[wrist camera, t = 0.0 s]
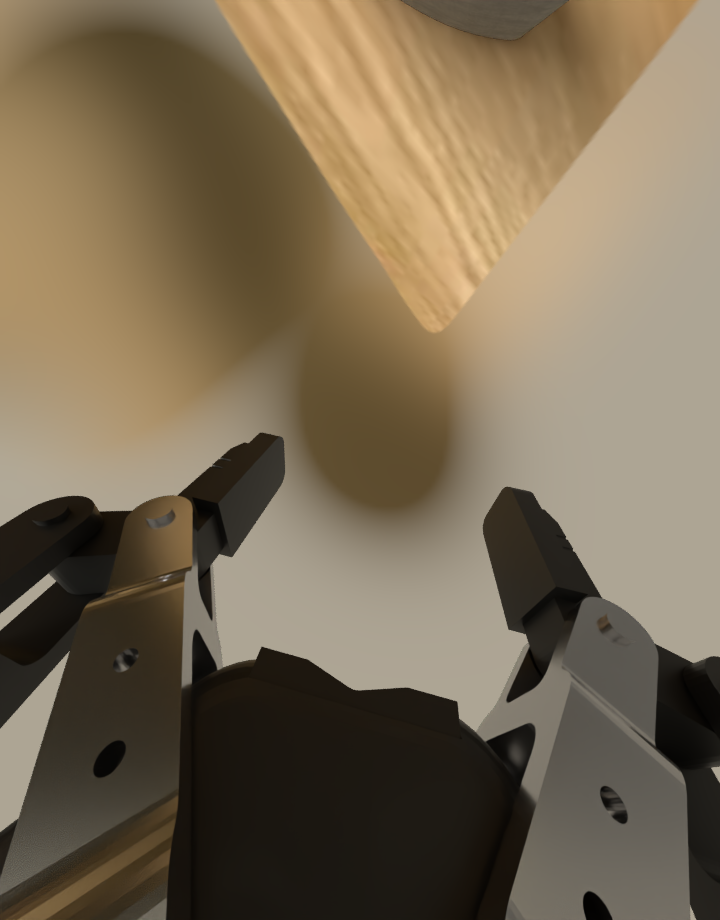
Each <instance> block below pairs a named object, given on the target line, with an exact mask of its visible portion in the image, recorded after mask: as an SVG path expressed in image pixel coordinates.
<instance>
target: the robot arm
mask: <svg viewBox="0 0 720 920" xmlns="http://www.w3.org/2000/svg"><path fill="white" fill-rule="evenodd" d="M284 475H285V458H284V441H283V438H282V437H280V436H275V435H271V434H266V433H259V434H258V435H257V436H256V437H255V438H254V439H253V440H252V441H251V442H250V443H243V444H240V445H238V446H236V447H233V448H231V449H230V450H229V451H228V452H227V453H226V454H224V455H223V456H222V457H221V459H218V460H217V461H216V462H215V463H214V464H213V465H212V467H209V468H208V469H207V470H206V471H205V472H204V473H202V474H201V475H200V476H199V477H198V478H197V479H196V480H195V481H194V482H192V483H191V484H190V485H189V486H188V487H187V488H186V489H184V490H183V491H182V492H181V493H180V494H179V495H178V496H174V495H172V496H171V495H170V496H162V497H158V498H154V499H151V500H149V501H146V502H144V503H143V504H141V505H139V506H138V507H136V508H135V509H134V510H133V511H106V512H99V510H98V509H97V507H96V506H95V504H94V503H93V501H92V500H90V499H89V498H87V497H83V496H67V497H61V498H56V499H53V500H49V501H46V502H43V503H41V504H38V505H36V506H34V507H32V508H30V509H28V510H27V511H25V512H23V513H22V514H20V515H18V516H17V517H15V518H14V519H12V520H10V521H9V522H7V523H6V524H4V525H2V526H1V527H0V613H1V612H3V611H4V610H5V609H6V608H7V607H9V606H10V605H11V604H12V603H13V602H15V601H16V600H17V599H18V598H19V597H21V596H22V595H23V594H24V593H25V592H27V591H28V590H29V589H30V588H31V587H33V586H34V585H35V584H36V583H37V582H39V581H40V580H41V579H42V578H43V577H45V576H46V575H47V574H48V573H49V574H50V575H51V576H52V577H53V578H54V579H55V580H56V582H55V583H54V584H53V585H52V586H51V587H50V588H48V589H47V590H46V591H45V592H44V593H43V594H42V595H41V596H39V597H38V598H37V599H36V600H35V601H34V602H32V603H31V604H30V605H29V606H28V607H27V608H26V609H24V610H23V611H22V612H21V613H20V614H19V615H18V616H17V617H15V618H14V619H13V620H12V621H11V622H10V623H9V624H7V625H6V626H5V627H4V628H3V629H2V630H1V631H0V728H1V727H2V726H3V725H4V724H5V723H6V722H7V720H8V719H9V718H10V717H11V716H12V715H13V713H15V711H16V710H17V709H18V708H19V707H20V706H21V705H22V704H23V702H24V701H25V700H26V699H27V698H28V697H29V696H30V695H31V693H32V692H33V691H34V690H35V689H36V688H37V687H38V686H39V684H40V683H41V682H42V681H43V680H44V679H45V678H46V677H47V675H48V674H49V673H50V672H51V671H52V670H53V668H55V666H56V665H57V664H58V663H59V662H60V661H61V660H62V659H63V657H64V656H65V655H66V654H67V653H68V652H69V651H70V652H69V655H68V659H67V662H66V665H65V668H64V672H63V675H62V678H61V682H60V685H59V688H58V691H57V695H56V698H55V701H54V705H53V708H52V711H51V714H50V717H49V721H48V724H47V727H46V730H45V734H44V737H43V741H42V744H41V747H40V750H39V753H38V756H37V760H36V763H35V766H34V770H33V773H32V776H31V779H30V783H29V786H28V789H27V793H26V796H25V799H24V802H23V805H22V809H21V812H20V816H19V818H18V819H17V820H16V821H14V822H13V823H12V824H10V825H9V826H8V827H6V828H5V829H4V830H3V831H1V832H0V920H690V905H691V908H692V910H693V913H694V915H695V918H696V920H720V783H719V781H718V780H717V778H716V776H715V774H714V773H713V771H712V769H711V767H719V766H720V657H715V656H713V657H709V658H706V659H704V660H701V661H699V662H696V663H692V662H690V661H688V660H686V659H684V658H682V657H680V656H678V655H676V654H674V653H672V652H670V651H668V650H666V649H664V648H662V647H660V646H658V645H656V644H654V642H653V640H652V639H651V637H650V635H649V634H648V633H647V631H646V630H645V629H644V628H643V627H642V626H641V624H640V623H639V622H637V621H636V620H635V619H634V618H633V617H632V616H631V615H630V614H629V613H627V612H626V611H625V610H623V609H622V608H620V607H618V606H617V605H615V604H613V603H611V602H610V601H607V600H605V599H602V597H601V596H600V594H599V592H598V590H597V589H596V587H595V585H594V584H593V582H592V580H591V578H590V577H589V575H588V573H587V572H586V570H585V568H584V567H583V565H582V563H581V561H580V560H579V558H578V556H577V555H576V553H575V552H573V548H572V546H571V544H570V543H569V541H568V540H566V536H565V534H564V533H563V531H562V529H561V528H560V526H559V524H558V523H557V522H556V521H555V520H554V519H553V518H552V517H551V516H550V515H549V514H548V513H547V512H546V511H545V510H543V509H541V507H540V505H539V504H538V502H537V500H536V498H535V496H534V495H533V493H532V492H529V491H525V490H520V489H516V488H511V487H505V488H504V489H502V491H501V493H500V494H499V496H498V497H497V499H496V500H495V502H494V504H493V505H492V507H491V509H490V510H489V512H488V514H487V515H486V517H485V519H484V524H483V534H484V538H485V542H486V546H487V549H488V553H489V557H490V561H491V564H492V568H493V572H494V576H495V580H496V583H497V587H498V591H499V595H500V599H501V603H502V606H503V610H504V614H505V618H506V621H507V625H508V629H509V630H513V631H516V632H520V633H524V634H526V636H527V639H528V642H529V643H527V644H526V645H525V646H524V647H523V649H522V651H521V653H520V655H519V657H518V659H517V662H516V664H515V666H514V668H513V670H512V672H511V674H510V676H509V679H508V681H507V683H506V685H505V687H504V689H503V692H502V693H501V696H500V698H499V700H498V702H497V704H496V705H495V707H494V708H493V710H492V711H491V712H490V713H489V714H488V715H487V717H486V718H485V719H484V720H483V722H482V723H481V725H480V726H479V728H478V730H477V732H475V731H474V730H473V729H471V728H470V727H469V726H468V725H466V724H465V723H464V722H463V721H462V720H460V719H459V714H458V704H457V701H453V700H449V699H446V698H442V697H439V696H435V695H432V694H428V693H425V692H421V691H417V690H414V689H411V688H393V689H378V690H362V691H358V690H353V689H351V688H349V687H347V686H346V685H344V684H343V683H341V682H340V681H339V680H337V679H335V678H334V677H333V676H331V675H330V674H328V673H327V672H325V671H324V670H322V669H321V668H319V667H318V666H316V665H315V664H313V663H312V662H310V661H309V660H307V659H303V658H300V657H296V656H293V655H289V654H285V653H282V652H278V651H274V650H271V649H268V648H264V647H261V649H260V652H259V654H258V656H257V659H256V660H248V661H243V662H238V663H235V664H232V665H229V666H226V667H223V665H222V654H221V646H220V641H219V636H218V631H217V623H216V607H215V593H214V592H215V591H214V574H213V565H212V563H213V561H214V560H215V559H216V557H217V556H218V555H219V554H221V555H225V556H229V557H233V555H234V554H235V552H236V551H237V549H238V548H239V546H240V545H241V543H242V542H243V541H244V539H245V538H246V536H247V535H248V533H249V532H250V530H251V529H252V527H253V526H254V524H255V523H256V521H257V520H258V518H259V517H260V515H261V514H262V513H263V511H264V510H265V508H266V507H267V505H268V504H269V502H270V501H271V499H272V498H273V496H274V495H275V493H276V492H277V490H278V489H279V487H280V486H281V484H282V482H283V479H284Z"/></svg>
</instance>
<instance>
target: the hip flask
mask: <svg viewBox="0 0 720 920" xmlns="http://www.w3.org/2000/svg"><path fill="white" fill-rule="evenodd" d="M401 1H403V2H404V3H406V4H408V5H410V6H411V7H413V8H415V9H416V10H418V11H420V12H422V13H424V14H425V15H427V16H429V17H431V18H433V19H435V20H437V21H439V22H442V23H444V24H446V25H448V26H451V27H454V28H456V29H459V30H462V31H465V32H469V33H472V34H475V35H479V36H484V37H490V38H495V39H503V40H516V39H518V38H520V37H522V36H523V35H524V34H526V33H527V32H528V31H530V30H531V29H532V28H534V27H535V26H536V25H537V24H539V23H540V22H541V21H543V20H544V19H545V18H547V17H548V16H549V15H550V14H552V13H553V12H554V11H556V10H557V9H558V8H559V7H561V6H562V5H563V4H565V3H566V2H567V1H568V0H401Z"/></svg>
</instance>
